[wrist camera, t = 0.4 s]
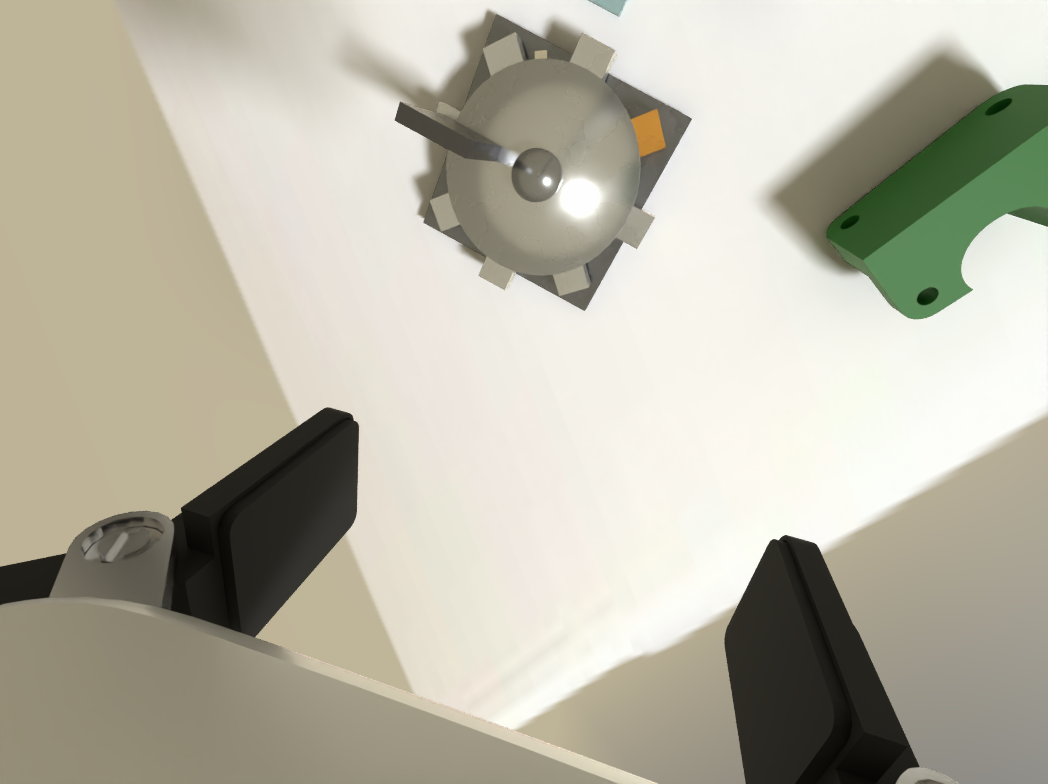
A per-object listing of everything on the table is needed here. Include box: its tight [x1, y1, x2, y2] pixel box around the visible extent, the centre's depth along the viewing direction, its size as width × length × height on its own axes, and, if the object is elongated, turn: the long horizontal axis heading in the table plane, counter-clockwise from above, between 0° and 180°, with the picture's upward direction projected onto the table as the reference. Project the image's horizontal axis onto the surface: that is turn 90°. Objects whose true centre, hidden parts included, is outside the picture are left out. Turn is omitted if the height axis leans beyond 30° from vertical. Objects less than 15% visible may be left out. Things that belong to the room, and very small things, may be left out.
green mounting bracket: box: [826, 85, 1048, 319], centre depth 28 cm, size 12×6×9 cm, turn 130°
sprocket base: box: [423, 14, 692, 311], centre depth 34 cm, size 14×14×1 cm
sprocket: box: [395, 32, 666, 296], centre depth 30 cm, size 16×16×8 cm
